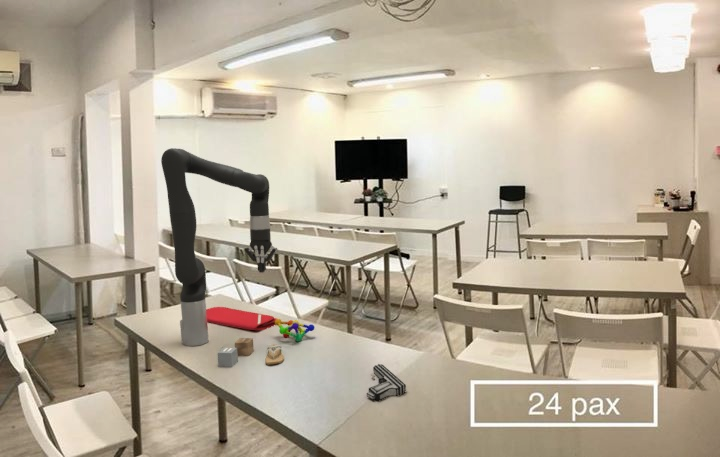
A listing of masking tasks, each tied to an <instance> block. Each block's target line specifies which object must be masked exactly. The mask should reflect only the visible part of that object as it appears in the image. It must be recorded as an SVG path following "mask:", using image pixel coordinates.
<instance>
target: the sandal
mask: <svg viewBox="0 0 720 457" xmlns="http://www.w3.org/2000/svg"><path fill="white" fill-rule="evenodd" d="M266 351H267V353H268V354H267V356H266V357H265V361H264V362H265V364H266V365H268V366H269V365H270V366H271V365H277V364H281V363H283V362H284V360H285V355H284V354H283V352H282V346H281V344H269V345H267V347H266Z"/></svg>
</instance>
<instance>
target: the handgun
mask: <svg viewBox="0 0 720 457" xmlns="http://www.w3.org/2000/svg"><path fill="white" fill-rule="evenodd" d="M372 367H373V368H372V369H373V370H372V372H373V373H370V376H371V377H372V378H375V377H376V376H377V377H376V378H377V380H378V384H376V385H373V386H371V387H368V392H366V397H367V398H369V399H371V400H374V399H375V400H374V401H375V402H380V401H379V400H381V401H383V400H384V398H385V399H387V398H388V396H389V397H391V396H390V395H396V396H395V397H398V396H397V395H400V394H402V395H404V394H405V393H406V392H407V384H405V383H404V381H402V380H401V379H400V378H398V377H397V375H395V374H394V373H393V372H391V370H389V368H387V367H386V366H385V365H384V364H381V363H380V364H379V363H378V364H376V365H374V366H372ZM374 374H375V375H376V376H375V375H374ZM405 391H406V392H405ZM404 392H405V393H404ZM403 393H404V394H403ZM400 396H401V395H400ZM386 397H387V398H386ZM382 399H383V400H382Z"/></svg>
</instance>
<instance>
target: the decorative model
mask: <svg viewBox="0 0 720 457" xmlns="http://www.w3.org/2000/svg"><path fill="white" fill-rule="evenodd" d="M275 324H276V325H275V326H278V327H279V333H280V334H281V335H282V336H283V338H289V337H293V338H294V339H295V341H296V342H300V341H302V337H304V336H305V335H307V333H309V332H313V331H314V330H315V325H314V324H311V323H310V324H309V325H307V324H304V323H300V322H299V320H295V319H294V320H292V319H290V320H288V321H282V319H280V318H277V319H276V320H275ZM283 325H287V326H286V327H284V326H283ZM301 327H302V328H301ZM304 328H305V329H304ZM292 330H294V332H295V333H292Z"/></svg>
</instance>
